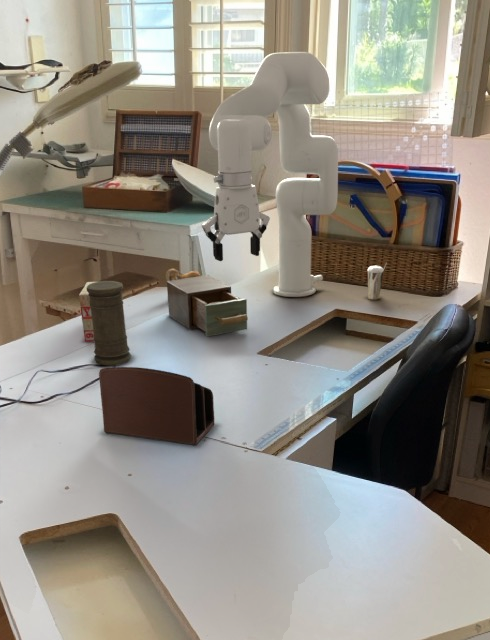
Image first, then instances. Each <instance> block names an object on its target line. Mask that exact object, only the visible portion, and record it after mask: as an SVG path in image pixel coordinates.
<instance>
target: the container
mask: <svg viewBox="0 0 490 640" xmlns="http://www.w3.org/2000/svg"><path fill="white" fill-rule="evenodd" d="M94 282H95V283H91V284H89V285H88V286H87V292H88V293H89V294H88V295H89V298H90V307H91V315H92V323H93V331H94V341H93V343H94V350H93V353H94V355H93V359H94V362H95V363H96V364H97V365H100V366H106V367H116V366H120V365H124V364H127V363H128V362H130V360H131V358H132V355H131V352H130V351H131V349H130V347H129V346H128V344H129V343H128V336H127V330H126V320H125V311H124V301H123V293H124V292H123V289H124V285H123V283H122V282H120V281H115V280H102V281H94Z"/></svg>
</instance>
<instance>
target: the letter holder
mask: <svg viewBox="0 0 490 640" xmlns="http://www.w3.org/2000/svg"><path fill="white" fill-rule="evenodd" d="M98 379H99V389H100V399H101V401H100V402H101V411H102V419H103V420H102V421H103V432H104V433H105V434H113V435H119V436H127V437H134V438H142V439H148V440H155V441H162V442H170V443H177V444H184V445H191V446H197V445H198V443H200V441H201V440H202V439H203V438H204V437H205V436H206V435H207V434H208V433H209V432H210V430H212V428H214V426H215V407H214V392H213V391H212V390H211V389H210V388H209V387H206V386H203V385H201V384H200V383H197V382H195V381H194V380H193V378H191V377H189V376H187V375H183V374H179V373H175V372H172V371H165V370H160V369H155V368H148V367H136V366H134V367H133V366H111V367H103V368H101V369H100V370H99V371H98Z"/></svg>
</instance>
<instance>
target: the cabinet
mask: <svg viewBox="0 0 490 640" xmlns="http://www.w3.org/2000/svg"><path fill="white" fill-rule="evenodd" d="M166 290H167V305H168V316H169V317H170V318H171V319H173V320H174V321H176V322H178V323H179V324H180V325H182V326H183V327H185V328H187V329H188V330H195V329H200V328H199V327H197V326H196V325H194V324H193V323H192V315H191V297H190V296H193V295H199V294H205V293H212V292H218V291H224V290H225V291H227V292H229V293H231V294H232V286H231V285H229V284H227V283H225V282H223V281H221V280H219V279H217V278H215V277H213V276H212V275H209V274H207V275H201V276H199V277H193V278H186V279H179V280H172V281H167V280H166Z"/></svg>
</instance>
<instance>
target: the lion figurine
mask: <svg viewBox="0 0 490 640" xmlns="http://www.w3.org/2000/svg"><path fill="white" fill-rule="evenodd" d="M199 276H202V275H201V274H200V272H199V271H197V270H192V271H189V272H187V273H182V272H180V271H179V270H177V269H176V268H173V267H172V268H170V269H168V270H167V271H166V272H165V280H166V282H167V281H172V280H179V279H186V278H193V277H199Z"/></svg>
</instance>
